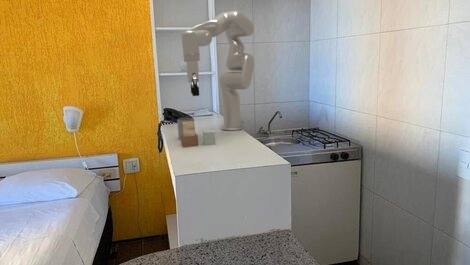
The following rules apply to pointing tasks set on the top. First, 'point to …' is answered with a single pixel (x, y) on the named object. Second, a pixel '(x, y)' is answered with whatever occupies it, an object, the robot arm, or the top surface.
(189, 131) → the maple block
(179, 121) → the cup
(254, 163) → the top surface
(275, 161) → the top surface
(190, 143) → the walnut block
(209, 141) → the sage block
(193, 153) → the top surface
